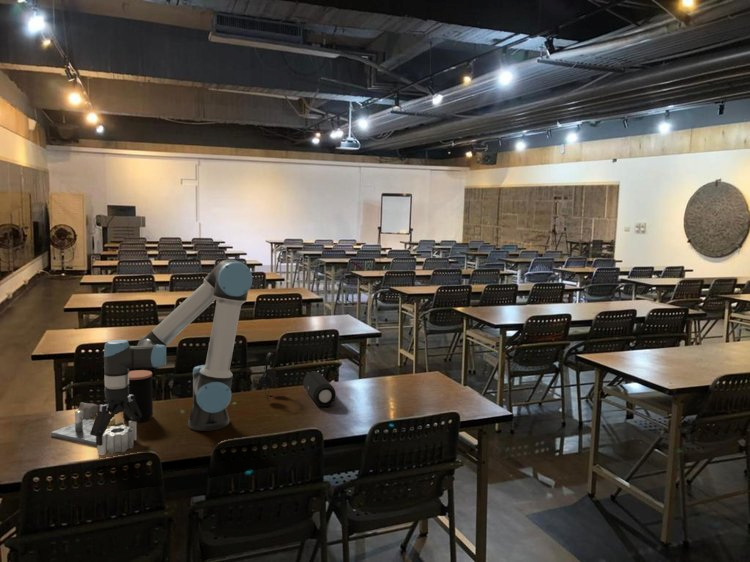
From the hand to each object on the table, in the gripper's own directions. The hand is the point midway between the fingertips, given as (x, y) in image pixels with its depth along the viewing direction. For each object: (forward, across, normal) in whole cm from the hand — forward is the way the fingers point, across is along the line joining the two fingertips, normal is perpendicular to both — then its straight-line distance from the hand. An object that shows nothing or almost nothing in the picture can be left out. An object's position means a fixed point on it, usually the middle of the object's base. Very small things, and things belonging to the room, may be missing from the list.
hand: (117, 446), depth 190 cm
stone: (+1, -18, -33) cm, 37 cm away
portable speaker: (0, -77, +38) cm, 86 cm away
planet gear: (0, 0, 0) cm, 0 cm away
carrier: (0, -5, -17) cm, 18 cm away
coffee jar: (0, -24, -14) cm, 28 cm away
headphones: (0, -70, +19) cm, 73 cm away
